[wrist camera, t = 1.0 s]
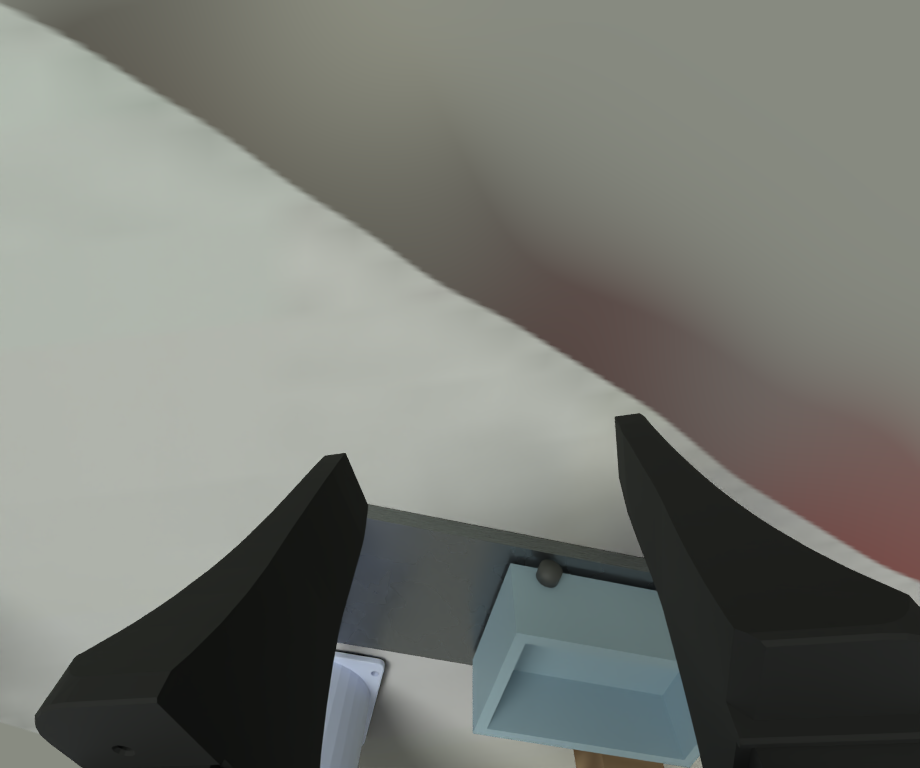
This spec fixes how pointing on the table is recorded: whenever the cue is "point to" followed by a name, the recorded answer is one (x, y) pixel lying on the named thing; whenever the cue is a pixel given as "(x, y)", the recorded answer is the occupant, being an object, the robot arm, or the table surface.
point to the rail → (451, 581)
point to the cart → (581, 669)
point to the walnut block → (610, 761)
